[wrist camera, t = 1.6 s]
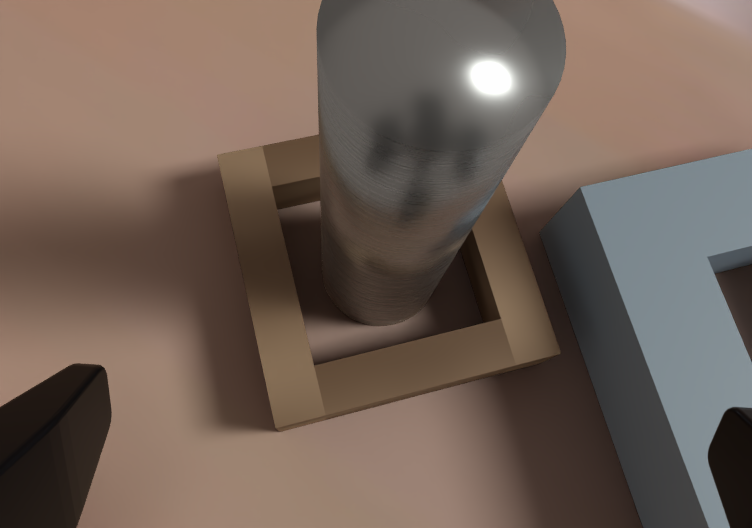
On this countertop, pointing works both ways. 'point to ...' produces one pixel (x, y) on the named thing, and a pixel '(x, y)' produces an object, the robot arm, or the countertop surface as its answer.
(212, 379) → the countertop surface
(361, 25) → the cylinder
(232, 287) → the countertop surface
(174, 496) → the countertop surface
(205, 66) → the countertop surface
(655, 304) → the slate-blue hub block
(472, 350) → the square wooden frame
